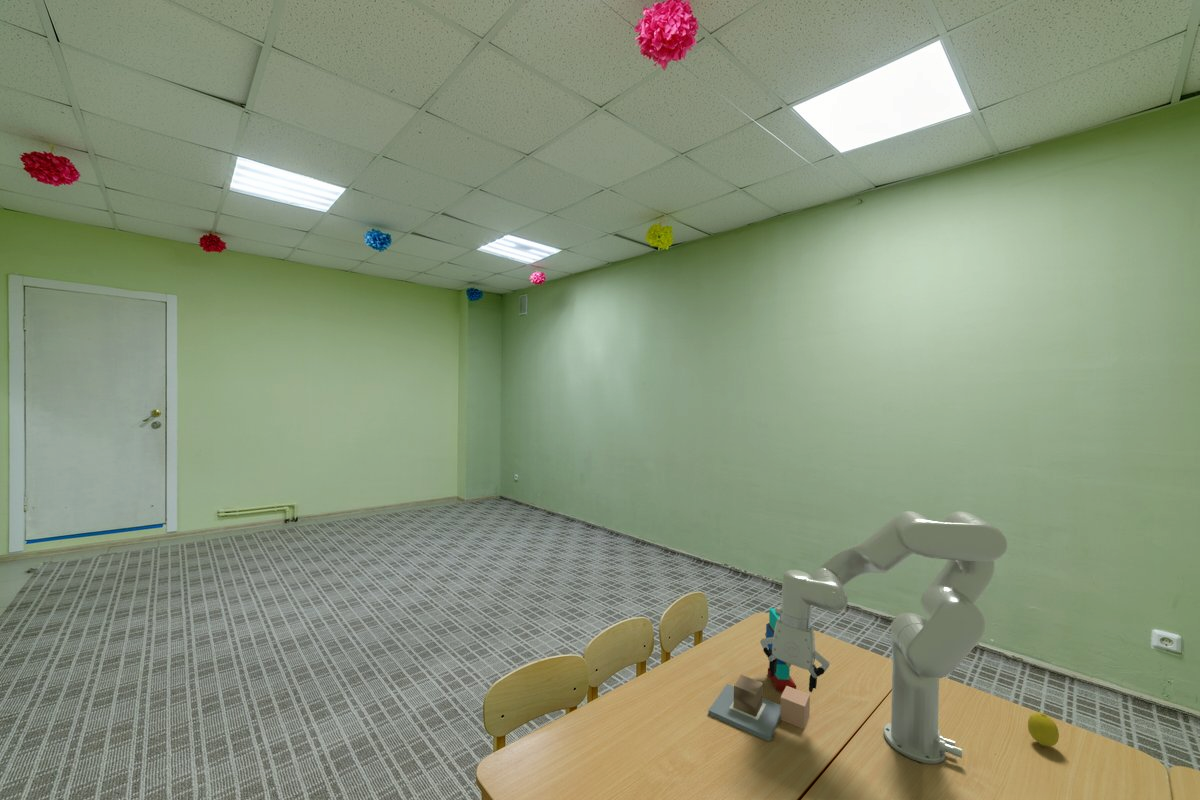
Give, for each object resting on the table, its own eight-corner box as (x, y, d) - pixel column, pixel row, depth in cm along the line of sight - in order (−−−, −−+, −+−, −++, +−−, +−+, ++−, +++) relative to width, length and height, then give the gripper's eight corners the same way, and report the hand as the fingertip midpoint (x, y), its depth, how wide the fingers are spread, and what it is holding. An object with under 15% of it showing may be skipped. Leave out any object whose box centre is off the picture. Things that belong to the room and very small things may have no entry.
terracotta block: (809, 716, 122) (809, 694, 122) (804, 729, 117) (804, 706, 117) (786, 707, 125) (786, 685, 125) (780, 719, 121) (780, 697, 120)
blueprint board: (784, 710, 124) (784, 706, 124) (769, 742, 112) (769, 737, 112) (727, 687, 133) (727, 683, 133) (708, 714, 122) (708, 709, 122)
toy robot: (798, 695, 130) (800, 609, 130) (777, 695, 130) (778, 608, 130) (783, 671, 142) (784, 591, 141) (763, 670, 142) (765, 591, 141)
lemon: (1048, 756, 109) (1049, 723, 109) (1021, 739, 114) (1022, 708, 114) (1064, 752, 111) (1065, 719, 111) (1037, 735, 116) (1037, 704, 116)
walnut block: (762, 704, 124) (762, 682, 124) (755, 716, 119) (756, 694, 119) (740, 695, 128) (741, 674, 128) (733, 707, 123) (733, 685, 123)
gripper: (758, 613, 123) (755, 675, 123) (828, 636, 113) (824, 703, 113) (766, 603, 129) (763, 662, 129) (834, 624, 119) (830, 688, 119)
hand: (792, 681), depth 121 cm, fingers open, 9 cm apart
